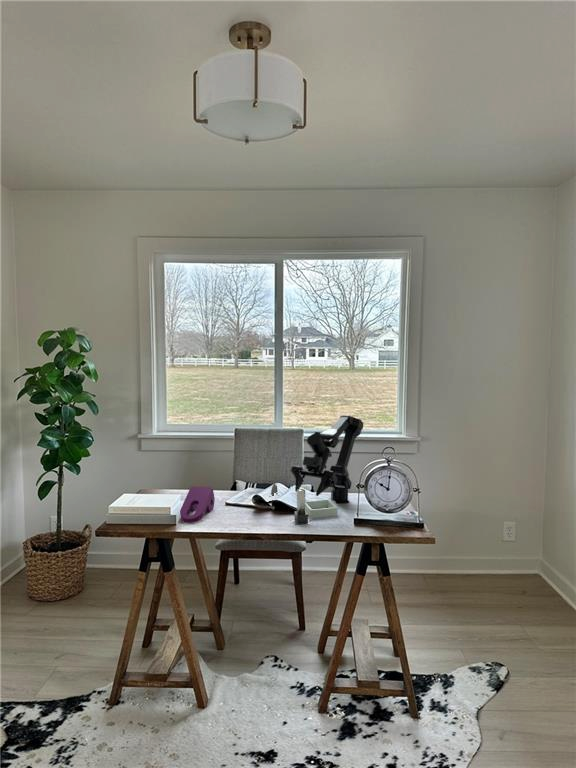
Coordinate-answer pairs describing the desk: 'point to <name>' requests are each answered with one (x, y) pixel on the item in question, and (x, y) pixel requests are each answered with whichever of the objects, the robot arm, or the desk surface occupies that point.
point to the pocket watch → (274, 488)
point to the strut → (301, 508)
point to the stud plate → (300, 523)
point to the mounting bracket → (197, 503)
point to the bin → (323, 512)
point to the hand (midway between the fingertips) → (306, 493)
